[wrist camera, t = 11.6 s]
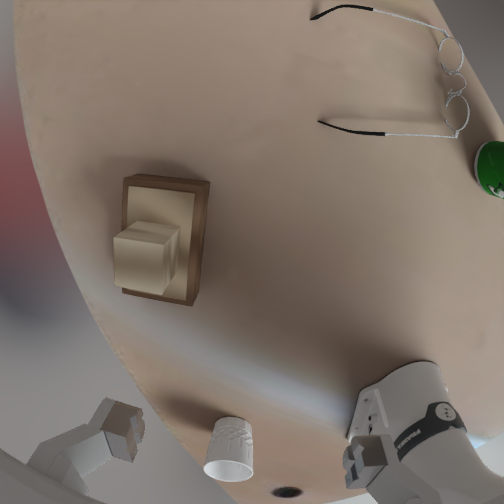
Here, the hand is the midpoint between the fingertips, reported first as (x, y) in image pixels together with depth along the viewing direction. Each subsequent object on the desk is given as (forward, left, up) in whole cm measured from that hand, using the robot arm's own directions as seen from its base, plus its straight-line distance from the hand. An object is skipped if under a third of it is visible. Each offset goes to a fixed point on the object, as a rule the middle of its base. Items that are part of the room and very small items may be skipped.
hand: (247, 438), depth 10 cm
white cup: (-36, -1, -28) cm, 46 cm away
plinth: (-2, +11, -28) cm, 30 cm away
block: (-2, +11, -24) cm, 26 cm away
